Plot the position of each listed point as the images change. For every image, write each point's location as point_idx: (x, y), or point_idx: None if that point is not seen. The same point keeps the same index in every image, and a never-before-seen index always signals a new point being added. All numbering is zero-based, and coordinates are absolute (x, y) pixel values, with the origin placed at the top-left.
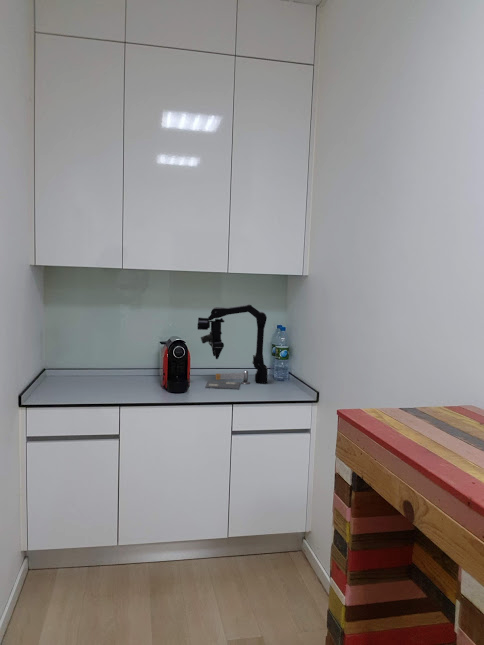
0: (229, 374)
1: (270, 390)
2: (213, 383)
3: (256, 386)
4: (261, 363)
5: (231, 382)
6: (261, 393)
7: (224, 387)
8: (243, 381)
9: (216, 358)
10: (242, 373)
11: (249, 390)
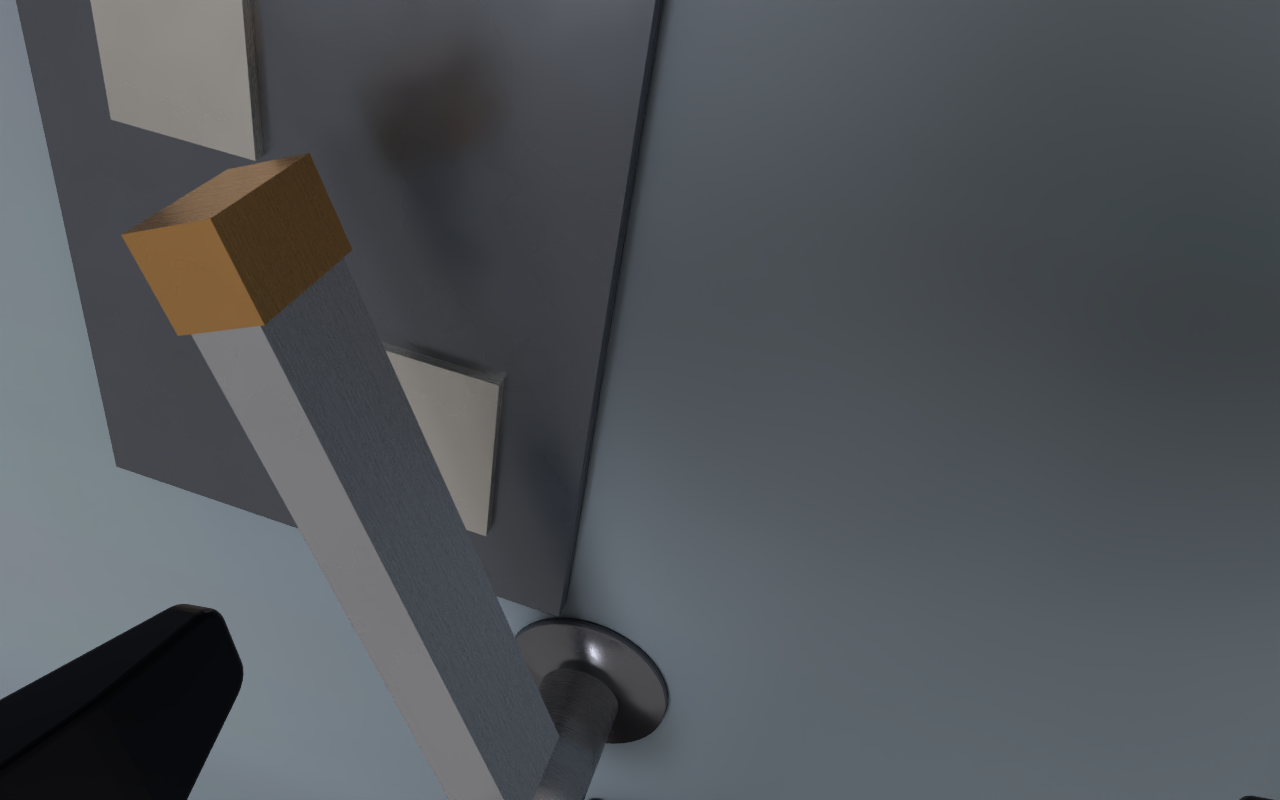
0: (325, 546)
1: (222, 777)
2: (370, 56)
3: (395, 729)
4: None
5: (477, 471)
6: (41, 641)
7: (85, 240)
8: (565, 677)
9: (160, 642)
10: (451, 792)
11: (135, 570)
